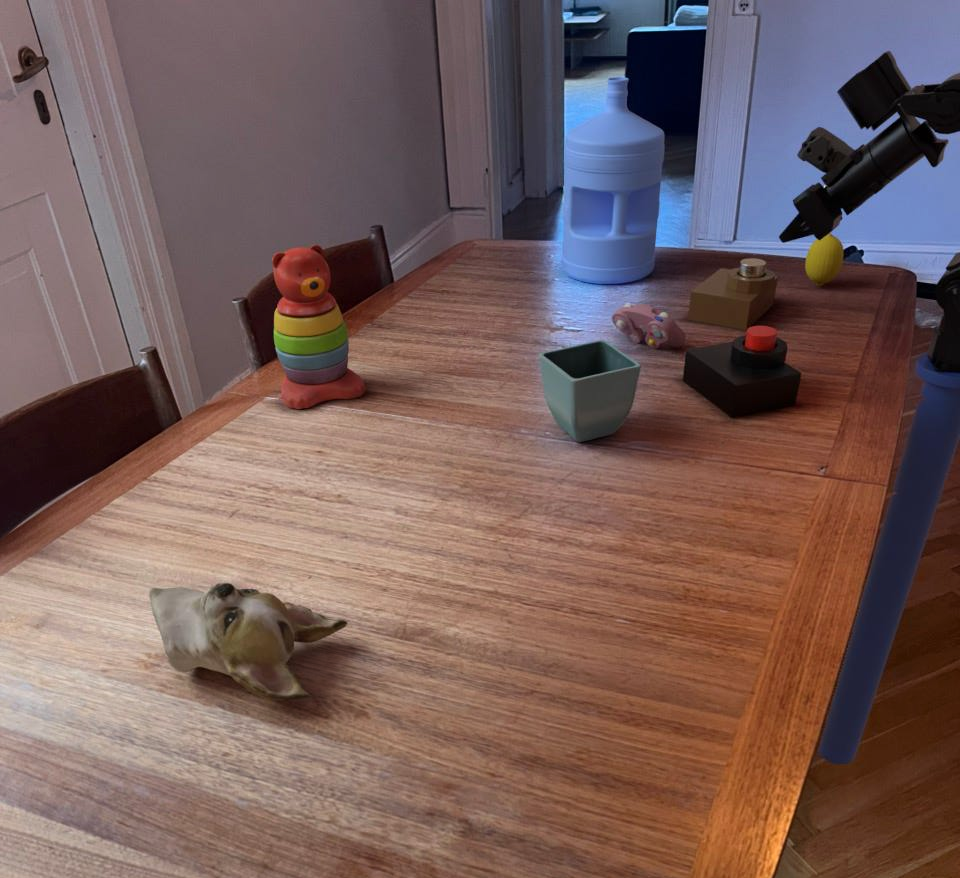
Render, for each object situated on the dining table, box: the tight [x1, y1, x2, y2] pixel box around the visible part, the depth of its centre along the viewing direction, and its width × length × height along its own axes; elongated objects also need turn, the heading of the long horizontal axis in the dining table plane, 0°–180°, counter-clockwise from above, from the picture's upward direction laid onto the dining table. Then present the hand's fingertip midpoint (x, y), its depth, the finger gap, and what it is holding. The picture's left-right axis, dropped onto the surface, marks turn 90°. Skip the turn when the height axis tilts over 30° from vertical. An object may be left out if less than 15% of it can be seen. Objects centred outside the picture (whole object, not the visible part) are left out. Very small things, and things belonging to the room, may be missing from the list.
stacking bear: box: [271, 244, 367, 410], centre depth 115 cm, size 11×10×18 cm
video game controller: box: [611, 302, 686, 350], centre depth 128 cm, size 10×5×7 cm, turn 47°
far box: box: [687, 266, 779, 331], centre depth 136 cm, size 10×12×6 cm
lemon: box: [804, 232, 845, 287], centre depth 143 cm, size 6×6×8 cm
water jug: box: [560, 76, 666, 285], centre depth 146 cm, size 16×16×28 cm
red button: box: [745, 325, 778, 351], centre depth 113 cm, size 4×4×2 cm
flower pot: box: [538, 339, 642, 443], centre depth 106 cm, size 9×9×9 cm
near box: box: [682, 334, 803, 419], centre depth 114 cm, size 10×12×6 cm
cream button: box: [738, 257, 767, 278], centre depth 133 cm, size 4×4×2 cm
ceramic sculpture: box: [148, 582, 348, 702], centre depth 75 cm, size 11×9×15 cm
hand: (781, 239), depth 129 cm, fingers closed
